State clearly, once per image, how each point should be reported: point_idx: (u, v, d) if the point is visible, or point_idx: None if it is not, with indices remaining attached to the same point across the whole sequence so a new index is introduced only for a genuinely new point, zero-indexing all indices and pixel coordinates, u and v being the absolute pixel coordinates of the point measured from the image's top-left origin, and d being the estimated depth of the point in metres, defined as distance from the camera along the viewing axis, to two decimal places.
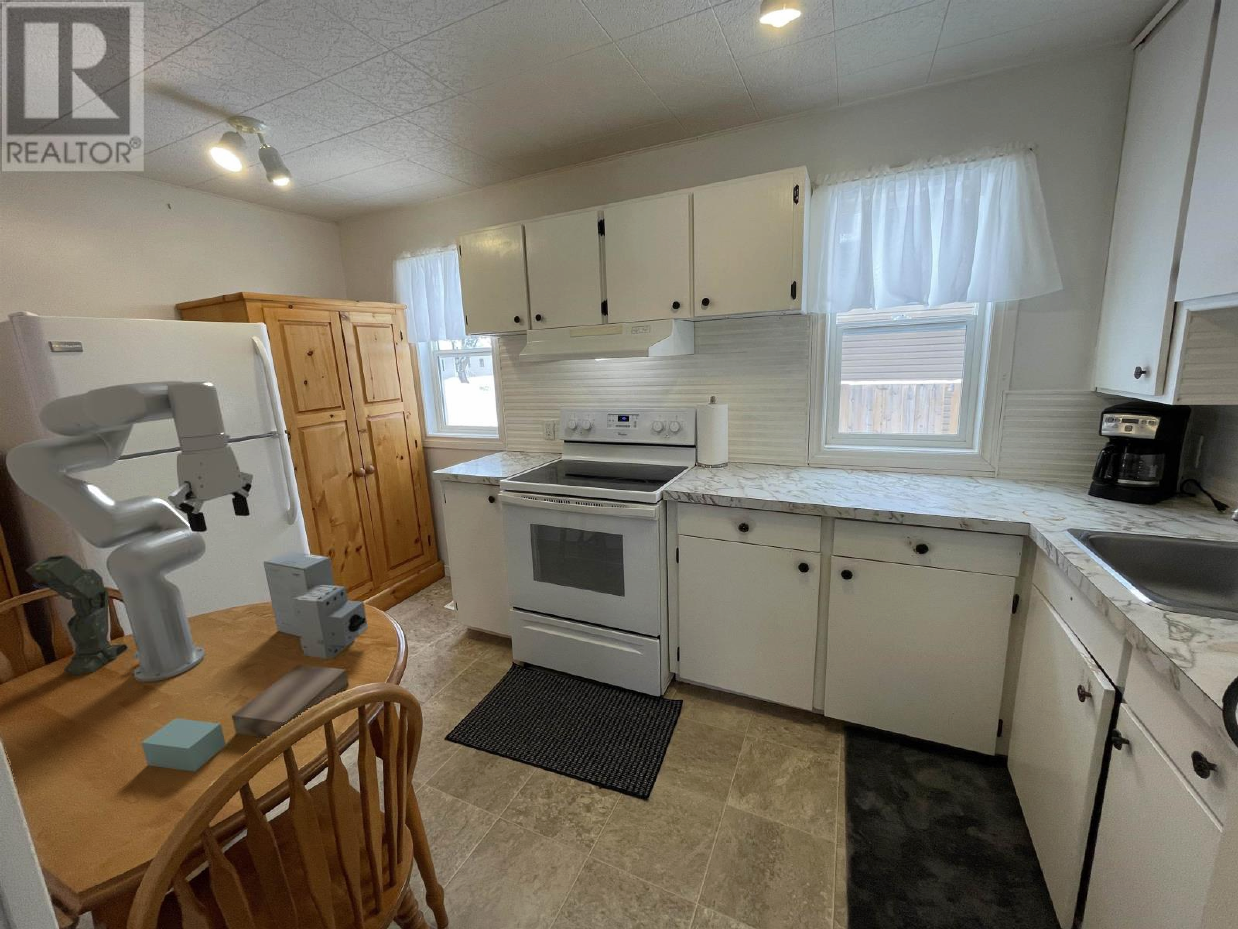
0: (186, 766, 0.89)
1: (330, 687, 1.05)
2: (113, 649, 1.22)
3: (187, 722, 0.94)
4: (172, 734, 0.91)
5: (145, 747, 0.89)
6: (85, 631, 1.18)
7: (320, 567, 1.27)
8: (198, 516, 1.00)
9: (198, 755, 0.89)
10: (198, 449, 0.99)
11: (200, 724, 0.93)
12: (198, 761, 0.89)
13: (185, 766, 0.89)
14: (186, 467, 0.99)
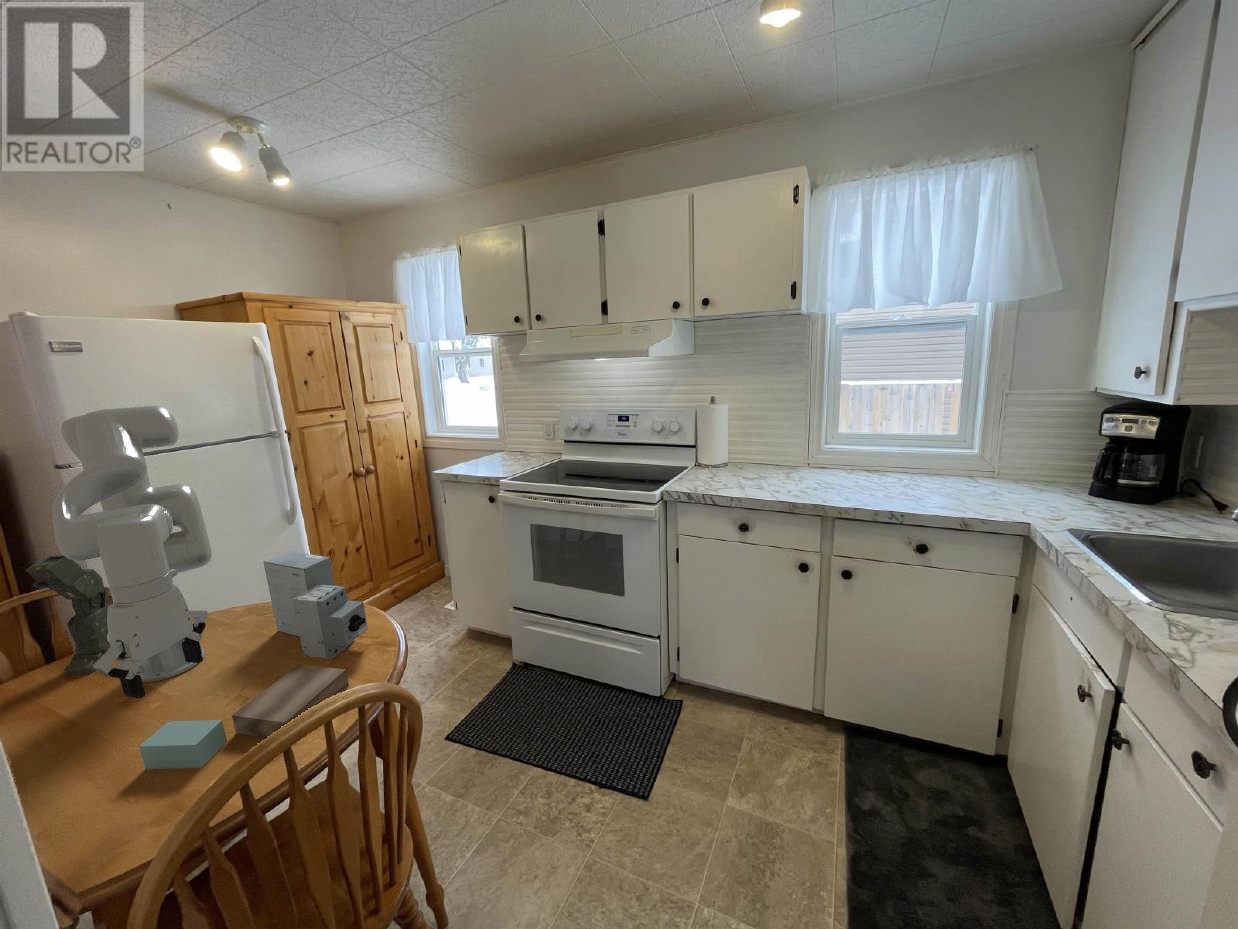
0: (192, 763, 0.89)
1: (330, 687, 1.05)
2: None
3: (184, 723, 0.94)
4: (171, 735, 0.91)
5: (143, 750, 0.89)
6: (85, 631, 1.18)
7: (320, 567, 1.27)
8: (134, 680, 0.82)
9: (204, 751, 0.90)
10: (133, 601, 0.81)
11: (200, 723, 0.93)
12: (204, 757, 0.90)
13: (190, 764, 0.89)
14: (118, 624, 0.81)
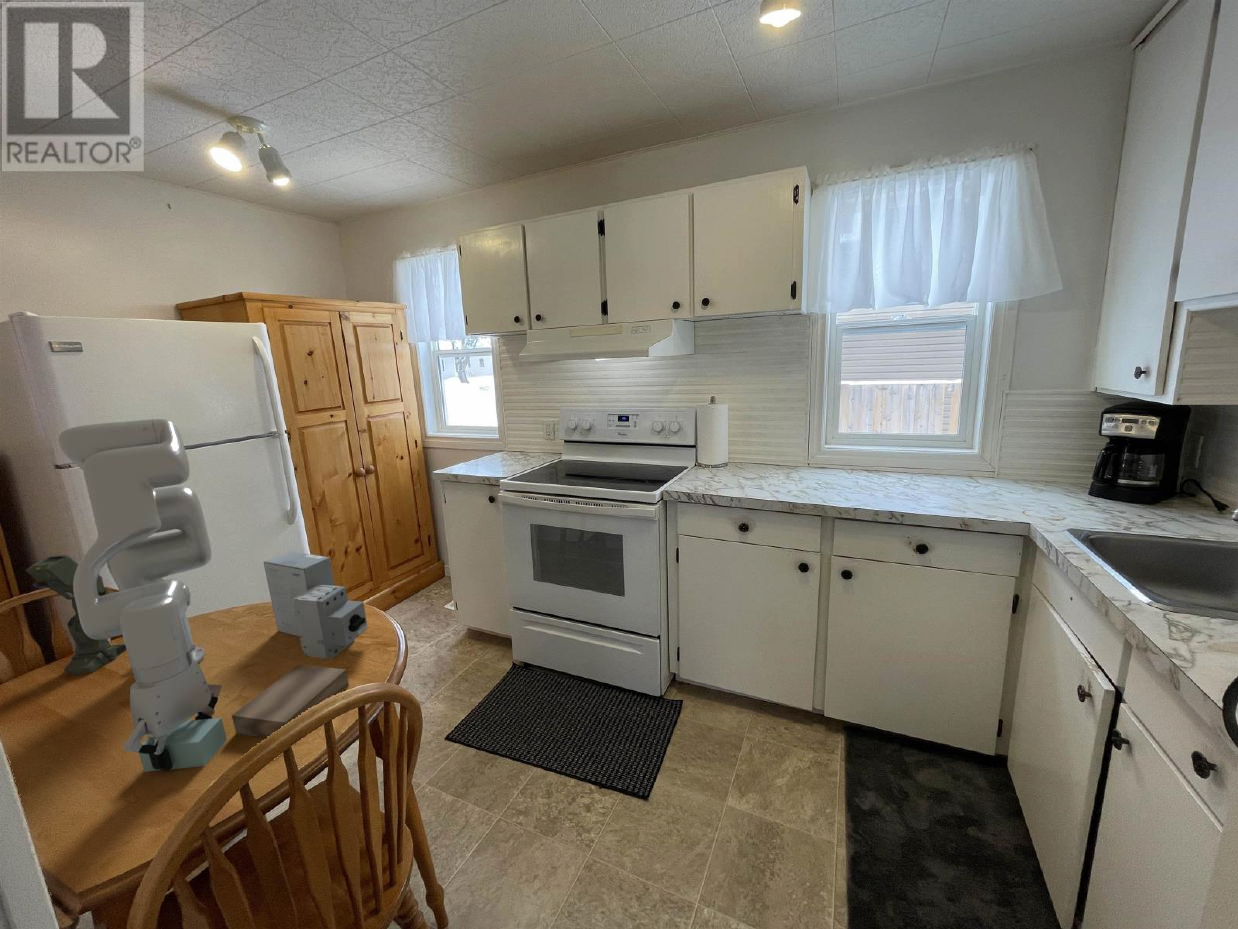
0: (194, 761, 0.89)
1: (330, 687, 1.05)
2: (113, 649, 1.22)
3: None
4: (170, 735, 0.90)
5: None
6: None
7: (320, 567, 1.27)
8: (162, 755, 0.87)
9: (206, 749, 0.90)
10: (155, 681, 0.85)
11: (198, 722, 0.93)
12: (207, 754, 0.90)
13: (192, 761, 0.89)
14: (140, 703, 0.84)
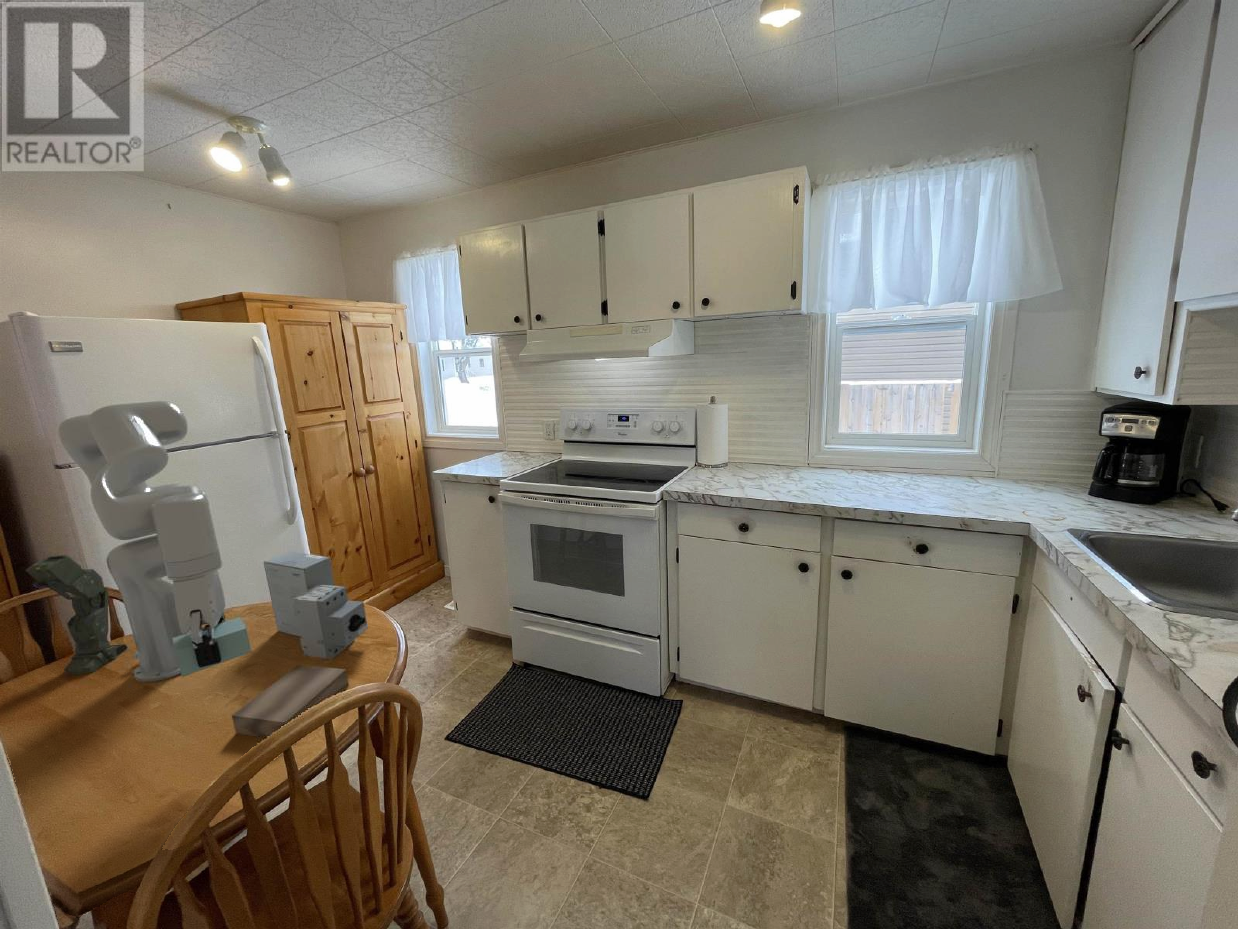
0: (240, 650, 0.93)
1: (330, 687, 1.05)
2: (113, 649, 1.22)
3: None
4: None
5: (181, 654, 0.87)
6: (85, 631, 1.18)
7: (320, 567, 1.27)
8: (213, 647, 0.89)
9: None
10: (205, 570, 0.87)
11: (218, 625, 0.95)
12: None
13: (238, 651, 0.93)
14: (194, 594, 0.86)
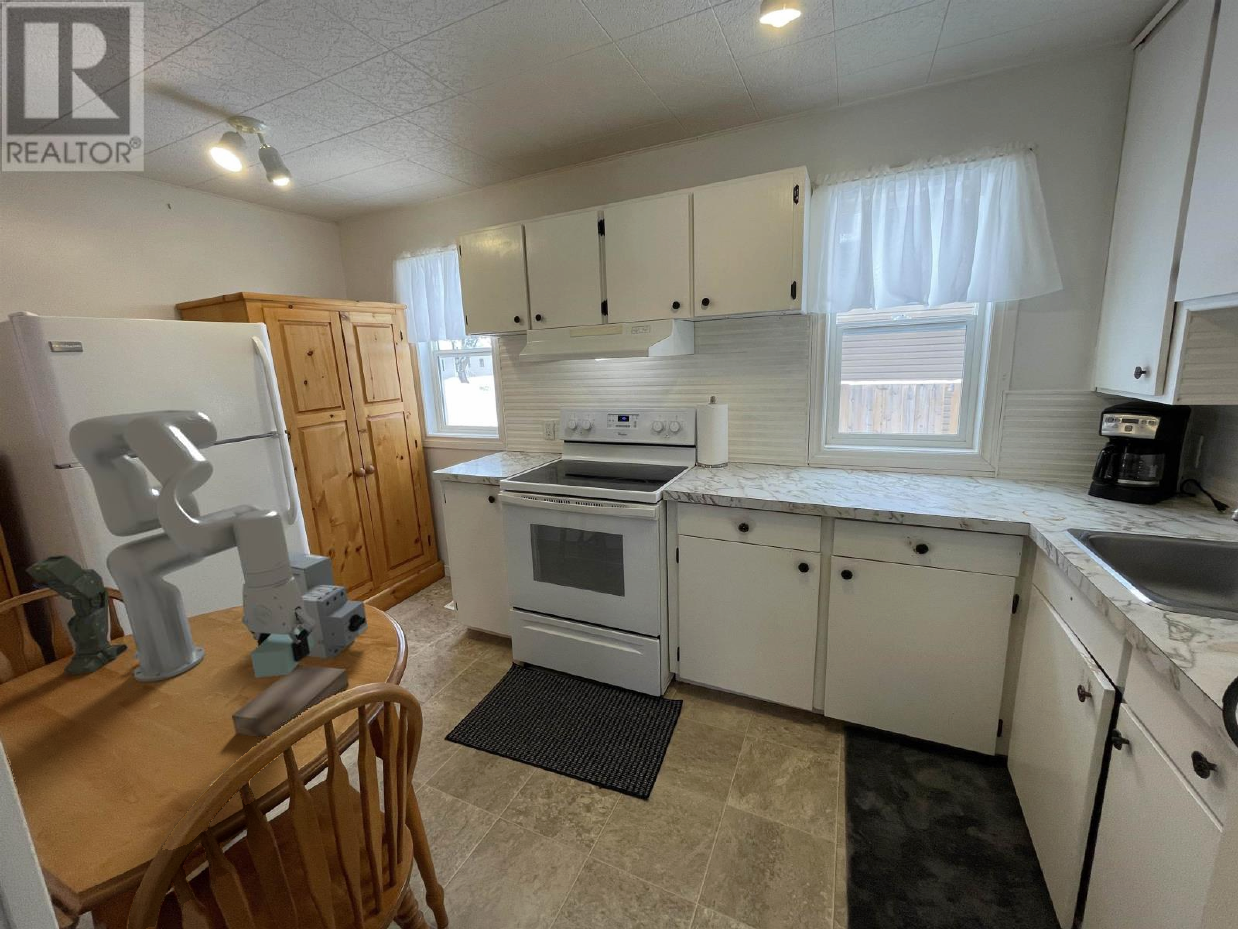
0: (309, 644, 1.04)
1: (330, 687, 1.05)
2: (113, 649, 1.22)
3: (264, 643, 0.98)
4: (280, 641, 0.99)
5: (286, 653, 0.96)
6: (85, 631, 1.18)
7: (320, 567, 1.27)
8: None
9: None
10: (291, 573, 0.98)
11: (273, 634, 1.01)
12: None
13: (309, 645, 1.04)
14: (295, 593, 0.97)
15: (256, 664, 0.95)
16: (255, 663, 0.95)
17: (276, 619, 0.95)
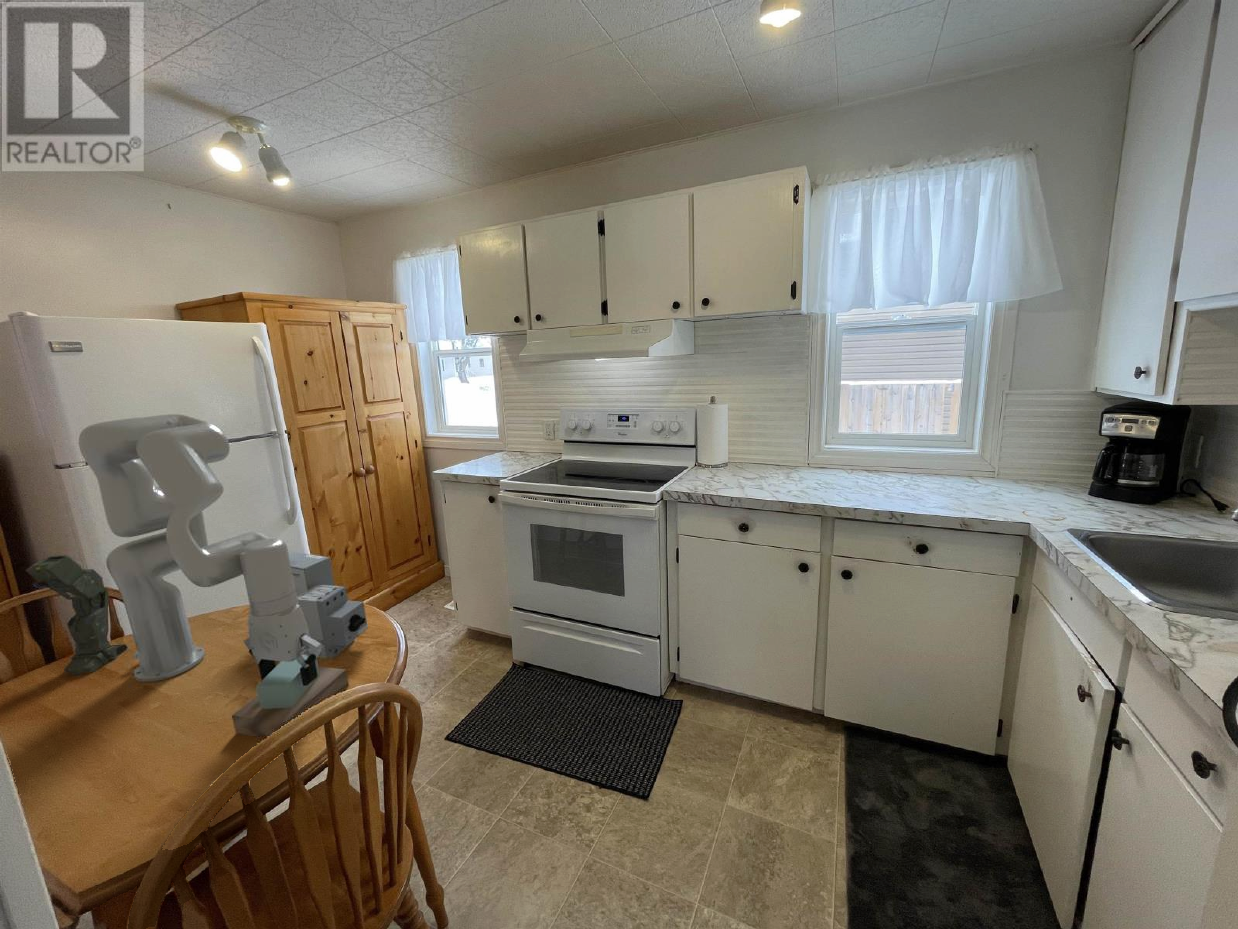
0: None
1: (330, 687, 1.05)
2: (113, 649, 1.22)
3: (270, 675, 1.00)
4: (286, 673, 1.00)
5: (290, 687, 0.98)
6: (85, 631, 1.18)
7: (320, 567, 1.27)
8: None
9: None
10: (296, 600, 1.00)
11: (280, 665, 1.03)
12: None
13: None
14: (300, 620, 0.99)
15: (262, 697, 0.97)
16: (260, 695, 0.97)
17: (281, 647, 0.97)
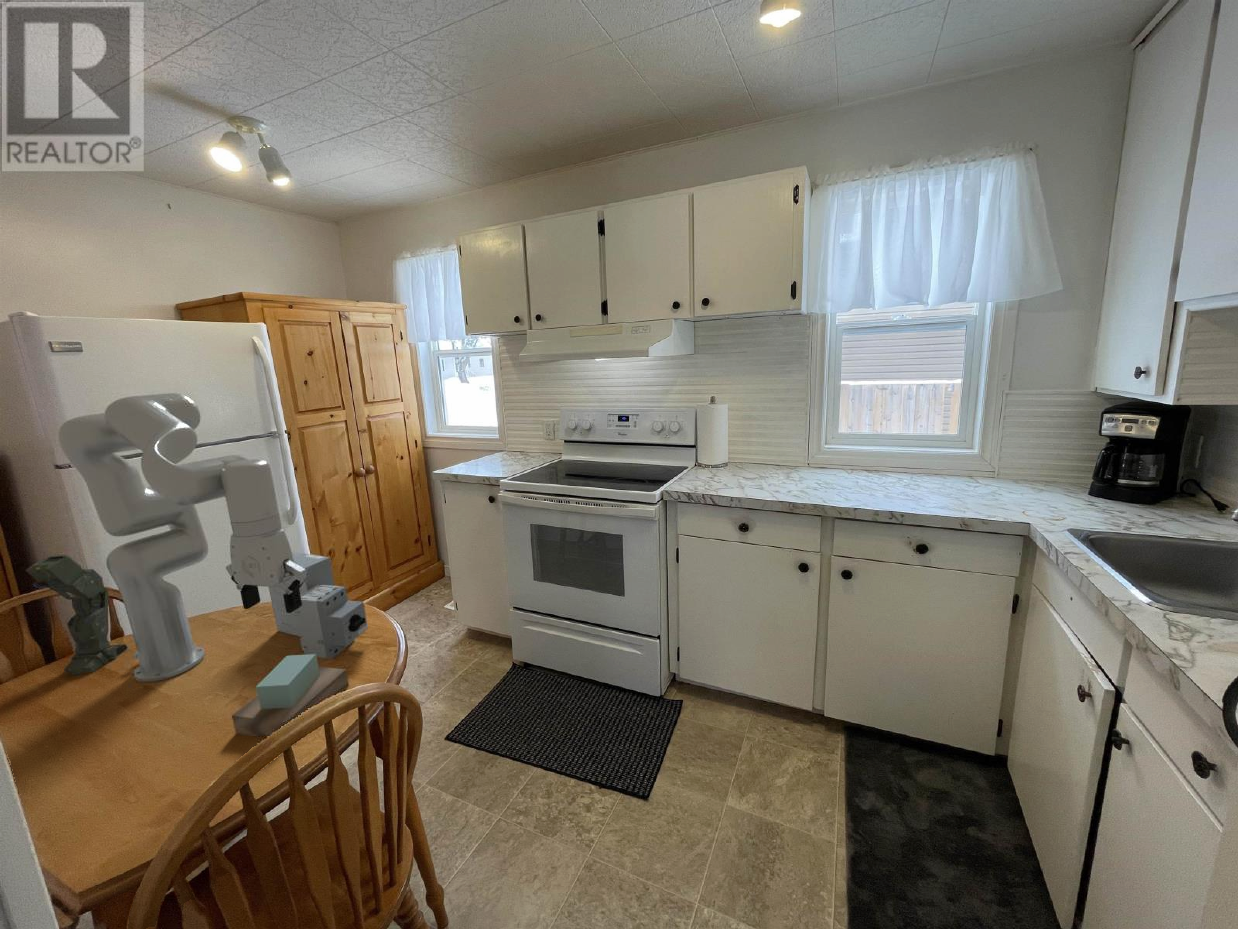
0: (315, 674, 1.06)
1: (330, 687, 1.05)
2: (113, 649, 1.22)
3: (270, 675, 1.00)
4: (286, 673, 1.00)
5: (290, 687, 0.98)
6: (85, 631, 1.18)
7: (320, 567, 1.27)
8: None
9: None
10: (280, 525, 0.97)
11: (280, 665, 1.03)
12: None
13: (314, 675, 1.06)
14: (284, 545, 0.95)
15: (262, 697, 0.97)
16: (260, 695, 0.97)
17: (264, 570, 0.94)
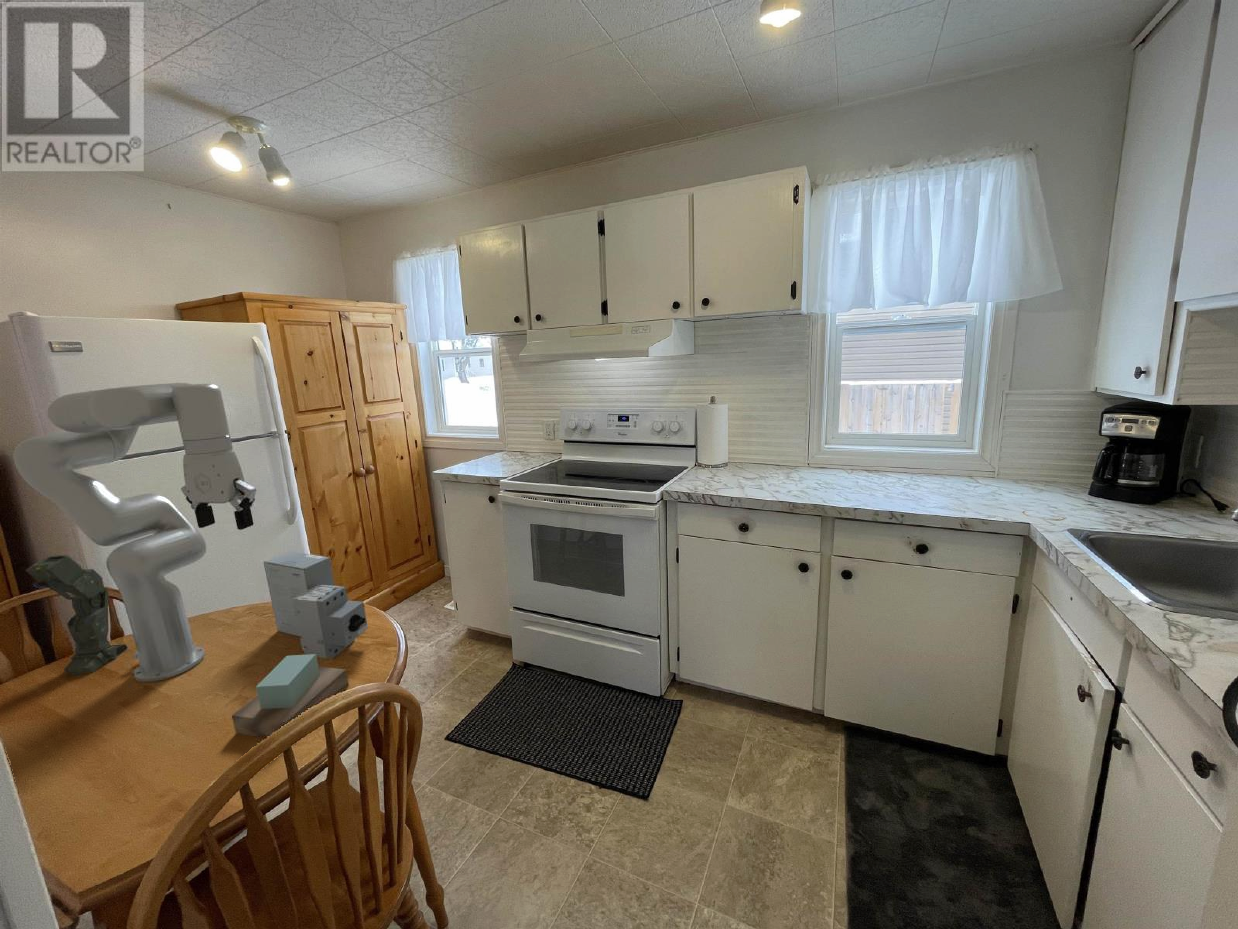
0: (315, 674, 1.06)
1: (330, 687, 1.05)
2: (113, 649, 1.22)
3: (270, 675, 1.00)
4: (286, 673, 1.00)
5: (290, 687, 0.98)
6: (85, 631, 1.18)
7: (320, 567, 1.27)
8: None
9: None
10: (231, 447, 1.03)
11: (280, 665, 1.03)
12: None
13: (314, 675, 1.06)
14: (234, 464, 1.02)
15: (262, 697, 0.97)
16: (260, 695, 0.97)
17: (215, 487, 1.00)
